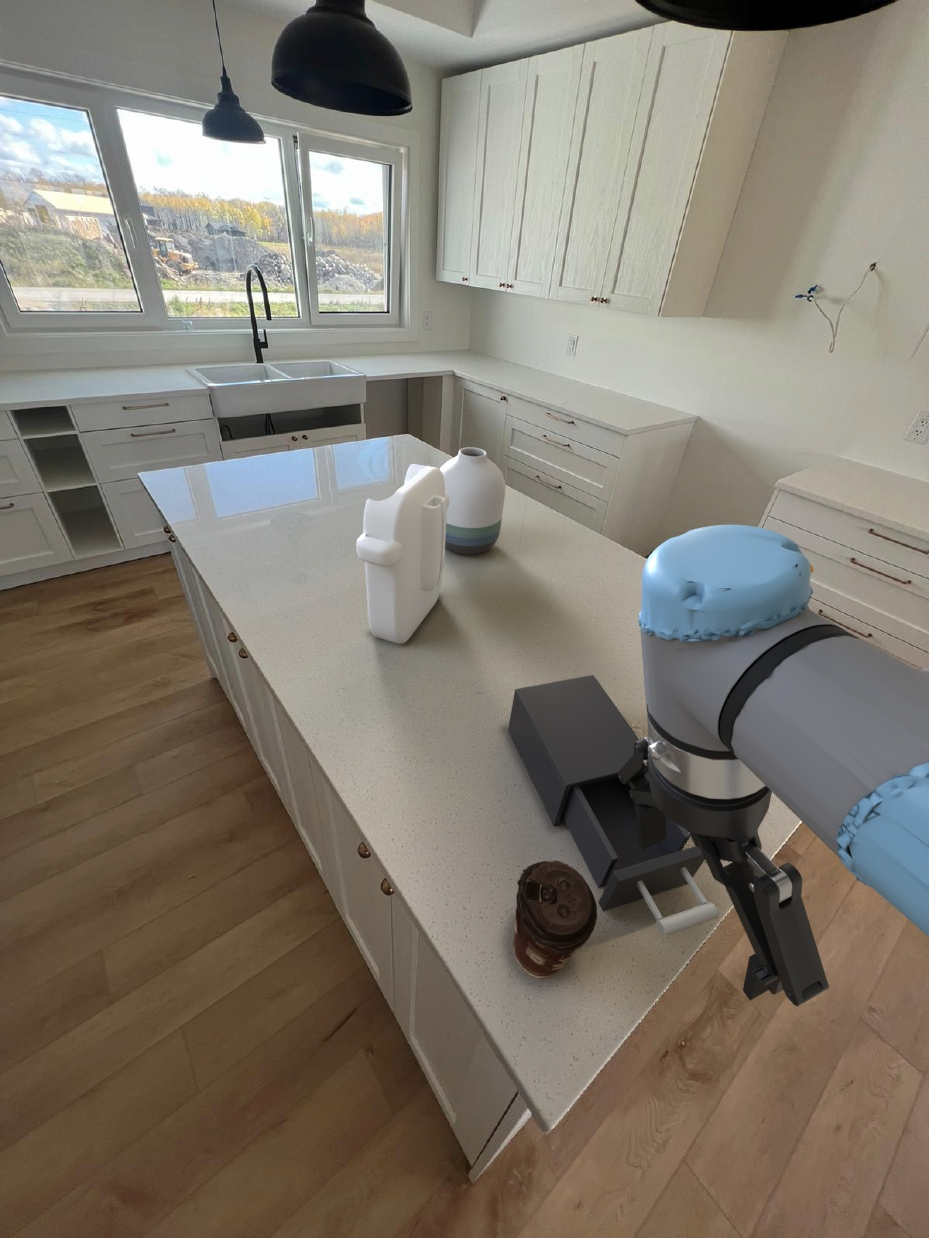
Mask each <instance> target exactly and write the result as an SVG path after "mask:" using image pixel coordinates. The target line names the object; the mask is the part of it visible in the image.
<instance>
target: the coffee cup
mask: <svg viewBox="0 0 929 1238" xmlns="http://www.w3.org/2000/svg"><path fill="white" fill-rule="evenodd" d="M516 884H517V886H518V887H517V893H516V898H515V900H516V903H515V916H514V923H513V932H514V934H513V935H514V936H513V941H512V949H513V954H514V959H515V961H516V962H517V963H518V964H519V966H520V967H521V969H522V970H523V971H524V972H526V973H527V974H528V975H529V976H531V977H534V978H536V979H547V978H549V977H553V976H555V975H556V974H558V973H559V972H560V971H561V970H562V969H563V968H564V967H565V965H566V964H567V962H568V961H569V960H570V959H571V958H572V956H573V955H574V953H575V952H576V950H579V949H580V948H581V947H583V946H584V945H585V944H586V943H587V941H588V940H590V937H591V935H592V934H593V932H594V931H595V927H596V924H597V920H598V906H597V901H596V898H595V895H594V893H593V891H592V889H591V888H590V885H589V884H588V883H587V881H586V879H585V878H584V876H583V875H582V874H581V873H580V872H579V871H578V870H577V869H575V868H574V867H572V866H570V865H569V864H567V863H564V862H562V861H559V860H553V861H550V860H542V861H539V862H536V863H532V864H530V865H528V866H527V867H526V868H525V869H522V873H521V875H520V877H519V879H518V880H517V882H516Z"/></svg>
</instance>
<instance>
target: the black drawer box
mask: <svg viewBox="0 0 929 1238" xmlns="http://www.w3.org/2000/svg"><path fill="white" fill-rule="evenodd" d="M512 699H513V700H512V705H511V710H510V716H509V721H508V727H507V731H508V734H509V736H510V738H511V740H512V743H513V744H514V746H515V748H516V751H517V752H518V754H519V756H520V759H521V762H522V763H523V765H524V767H525V769H526V771H527V773H528V776H529V777H530V780H531V782H532V783H533V786H534V788H535V790H536V792H537V794H538V796H539V799H540V801H541V803H542V805H543V807H544V809H545V811H546V813H547V815H548V817H549V820H550V821H551V823H552V826H553V827H554V826H559V825H563V824H566V823H565V821H564V819H563V817H562V812H563V809H564V806H565V803H566V800H567V797H568V794H569V791H570V787H574V786H578V785H582V784H586V783H590V782H594V781H598V780H602V779H606V778H610V777H614V776H618V771H619V770H620V769H621V768H622V767H623V766H624V765H625V764H626V763H627V761H628V760H629V759H630V758H631V757H632V756H633V755H634V742H635V741H638V740H640V739H641V738H640V737H639V736H638V735H637V734H636V732H635V731H634V729H633V728H632V727H631V725H630V724H629V723H628V721H627V719H626V718H625V717H624V715H623V714H622V712H621V710H619V708H618V707H617V706H616V704H615V703H614V701H613V700H612V699H611V697H610V696H609V694H608V693H607V691H606V690H605V689H604V687H603V686H602V684H601V683H600V682H599V680H598V679H597V678H596V676H595V675H594V674H589V675H583V676H580V677H574V678H567V679H563V680H556V681H552V682H547V683H541V684H537V685H530V686H526V687H520V688H515V689H514V694H513V698H512ZM648 774H649V772H648Z"/></svg>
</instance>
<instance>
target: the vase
mask: <svg viewBox="0 0 929 1238" xmlns="http://www.w3.org/2000/svg"><path fill="white" fill-rule="evenodd" d="M439 469H440V470H441V471H442V473H443V476H444V480H445V490H446V491H447V492H448V494H449V506H448V509H447V510H446V511H447V517H446V538H445V550H447V551H450V552H452V553H455V554H459V555H478V554H482V553H484V552H488V551H489V550H491V548H493V547H494V546H495V544H496V543H497V541H498V540H499V536H500V533H501V527H502V521H503V520H502V519H503V513H504V504H505V496H506V481H505V476H504V474H503V472H502V471H501V469H500V468H499V467H498V466H497V465H496V464H495V462H493V461H492V460H490V459H489V458H488V453H487V451H486V450H485V449H482V448H479V447H473V446H470V447H469V446H467V447H462V448H460V449H459V451H458V453H457V455H456V456H454V457H453V458H450V459H449V460H448V461H446V462H445V463H444V464H443V465H442V466H441V467H440V468H439Z"/></svg>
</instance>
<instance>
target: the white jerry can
mask: <svg viewBox="0 0 929 1238" xmlns="http://www.w3.org/2000/svg"><path fill="white" fill-rule="evenodd" d="M448 506H449V494H448V492H447V491H446V490H445V480H444V476H443V473H442V471H441V470H440V468H438V467H436V466H429V465H424V464H423V465H422V464H416V463H410V465H409V466H408V468H407V470H406V473H405V478H404V484H403V485H401V487H399V488H398V489H397V490H396V491H394V493H393V494H392V495H391V496H390V497H387V498H384V499H381V500H374V499H371V498H366V502H365V505H364V510H363V519H362V534H361V535H360V536H359V537H358V538H357V539H356V543H355V545H356V547H355V548H356V555H357V557H358V559H360V561H362V562H364V573H365V586H366V604H367V605H366V606H367V619H368V627H369V629H370V632H371V634H372V635H373V637H375V638H377V639H379V640H380V639H381V640H383V641H387V642H391V643H394V644H396V645H397V644H398V645H403V644H405V643H406V642H407V641H409V639H410V638H411V637H412V635H413V634H414V633H415V632H416V630H417V629H418V628H419V626H420V625H421V624H422V623H423V621H424V619H425V618H426V617H427V616H428V614H429V613H430V611H431V610H432V609H433V608H434V606H435V605H436V603H437V601H438V600H439V597H440V596H439V595H440V593H441V592H440V591H441V586H442V579H443V572H444V566H445V554H446V548H445V538H446V517H447V511H446V510H447V509H448Z"/></svg>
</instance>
